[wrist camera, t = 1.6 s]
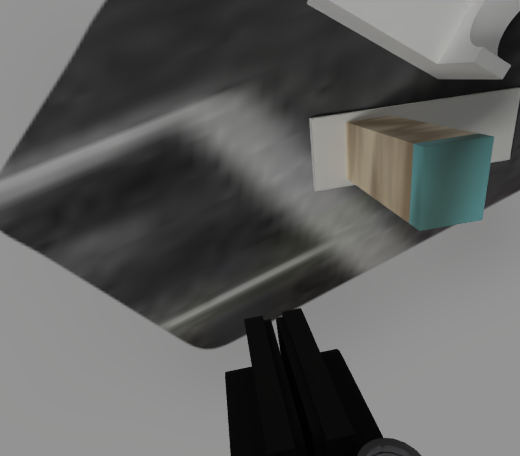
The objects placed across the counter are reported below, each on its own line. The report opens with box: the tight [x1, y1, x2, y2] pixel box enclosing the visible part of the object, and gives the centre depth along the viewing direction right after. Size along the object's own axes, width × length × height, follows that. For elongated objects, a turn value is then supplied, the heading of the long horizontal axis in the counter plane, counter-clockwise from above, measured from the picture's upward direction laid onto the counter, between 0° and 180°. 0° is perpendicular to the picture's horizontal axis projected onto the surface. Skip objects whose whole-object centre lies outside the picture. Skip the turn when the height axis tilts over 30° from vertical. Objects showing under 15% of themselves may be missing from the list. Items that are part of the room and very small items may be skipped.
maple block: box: [346, 116, 494, 231], centre depth 26 cm, size 4×5×12 cm
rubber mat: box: [309, 88, 520, 191], centre depth 32 cm, size 19×6×1 cm, turn 97°
